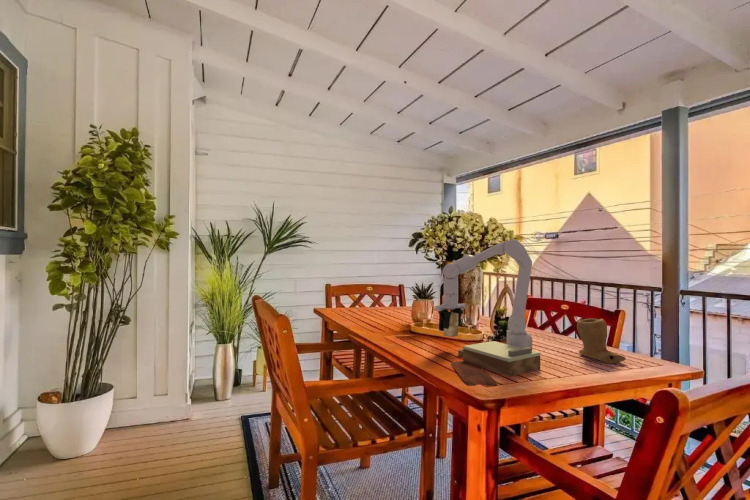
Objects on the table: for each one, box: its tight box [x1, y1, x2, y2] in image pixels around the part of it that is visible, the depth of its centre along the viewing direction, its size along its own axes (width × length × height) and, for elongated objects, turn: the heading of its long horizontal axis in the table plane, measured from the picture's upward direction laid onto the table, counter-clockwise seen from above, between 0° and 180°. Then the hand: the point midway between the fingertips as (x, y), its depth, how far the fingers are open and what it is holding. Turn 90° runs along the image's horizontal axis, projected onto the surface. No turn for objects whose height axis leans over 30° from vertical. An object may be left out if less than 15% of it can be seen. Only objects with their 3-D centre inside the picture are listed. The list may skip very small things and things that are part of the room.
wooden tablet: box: [450, 360, 498, 387], centre depth 133 cm, size 27×10×2 cm, turn 1°
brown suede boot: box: [576, 318, 627, 364], centre depth 151 cm, size 15×12×15 cm
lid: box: [462, 340, 541, 362], centre depth 141 cm, size 16×20×3 cm
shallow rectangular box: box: [457, 348, 541, 377], centre depth 144 cm, size 16×27×4 cm, turn 33°
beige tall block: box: [443, 312, 459, 338], centre depth 162 cm, size 4×4×9 cm
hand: (450, 327), depth 162 cm, fingers closed on beige tall block, 4 cm apart
